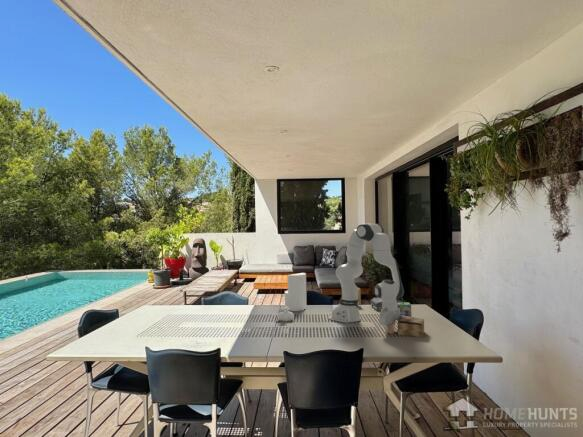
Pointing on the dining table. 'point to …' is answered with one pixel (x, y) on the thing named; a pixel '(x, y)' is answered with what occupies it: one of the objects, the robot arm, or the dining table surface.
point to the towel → (377, 303)
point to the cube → (390, 328)
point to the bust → (285, 314)
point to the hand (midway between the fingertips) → (389, 329)
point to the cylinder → (296, 292)
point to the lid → (410, 319)
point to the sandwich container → (359, 296)
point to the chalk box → (405, 308)
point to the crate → (410, 329)
